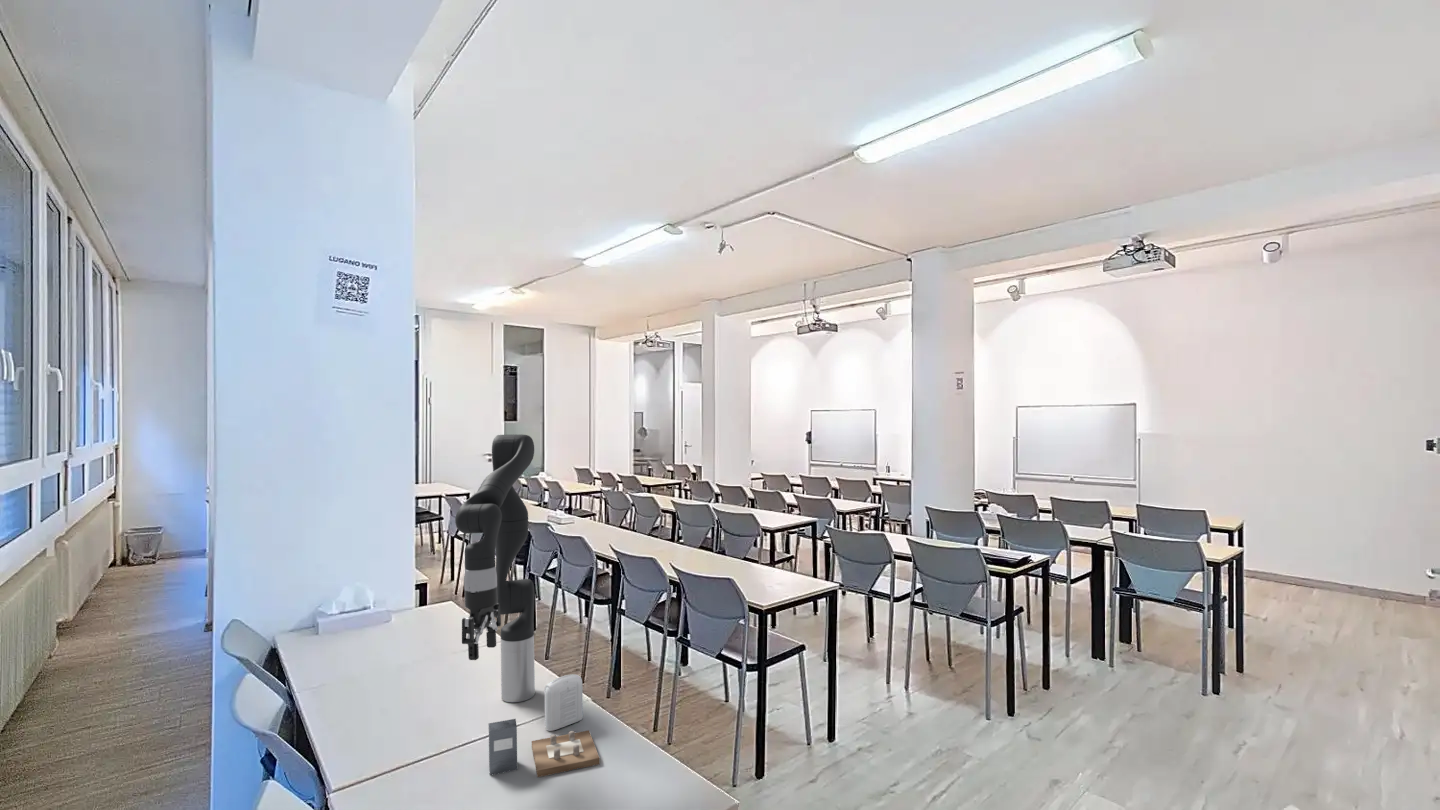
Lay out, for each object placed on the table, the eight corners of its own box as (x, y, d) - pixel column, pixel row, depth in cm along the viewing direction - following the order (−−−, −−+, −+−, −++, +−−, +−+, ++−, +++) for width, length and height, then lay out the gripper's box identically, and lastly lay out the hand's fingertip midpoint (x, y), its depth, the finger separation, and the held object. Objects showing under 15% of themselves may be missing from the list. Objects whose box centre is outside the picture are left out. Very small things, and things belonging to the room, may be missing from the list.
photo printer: (576, 714, 178) (576, 668, 178) (585, 719, 175) (584, 673, 175) (542, 727, 171) (541, 680, 171) (550, 733, 167) (549, 685, 167)
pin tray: (531, 747, 161) (531, 732, 161) (589, 736, 166) (588, 722, 166) (537, 777, 148) (537, 761, 148) (599, 764, 153) (599, 749, 153)
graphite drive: (489, 766, 153) (488, 723, 153) (516, 761, 155) (515, 718, 155) (489, 775, 149) (489, 731, 149) (517, 770, 151) (516, 726, 151)
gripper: (481, 579, 168) (483, 643, 167) (450, 593, 154) (452, 663, 153) (509, 579, 167) (511, 643, 166) (480, 593, 153) (482, 664, 152)
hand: (482, 653), depth 160 cm, fingers open, 8 cm apart
